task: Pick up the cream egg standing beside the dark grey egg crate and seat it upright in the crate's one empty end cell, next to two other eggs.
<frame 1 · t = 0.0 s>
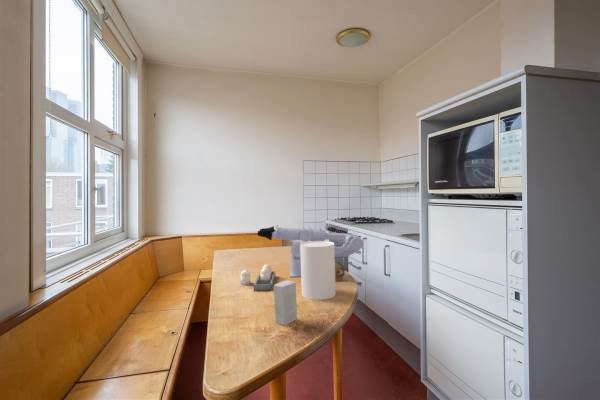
hand: (258, 232, 142), 22 cm above the table, tool horizontal, fingers open, 7 cm apart
canister: (318, 294, 114), on the table
egg crate: (265, 283, 130), on the table
tin: (328, 280, 132), on the table
skincare box: (286, 321, 90), on the table
egg: (245, 283, 130), on the table
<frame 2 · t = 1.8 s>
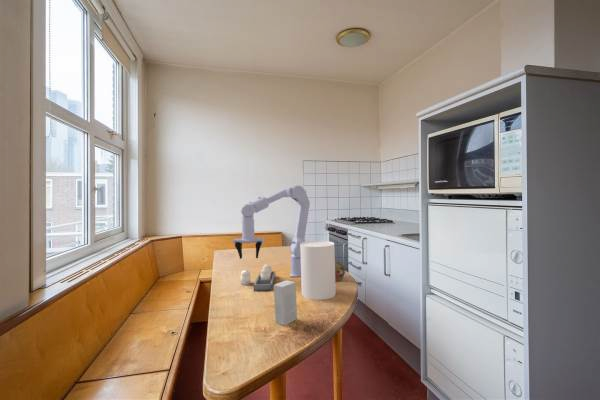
hand: (249, 258, 136), 10 cm above the table, tool pointing down, fingers open, 7 cm apart
nothing on the table moved.
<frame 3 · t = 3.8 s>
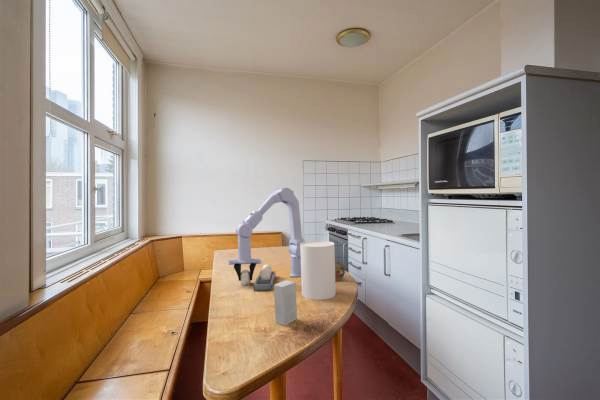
hand: (245, 280, 130), 2 cm above the table, tool pointing down, fingers closed on egg, 4 cm apart
egg: (245, 283, 130), on the table, touching gripper
everything else where it was.
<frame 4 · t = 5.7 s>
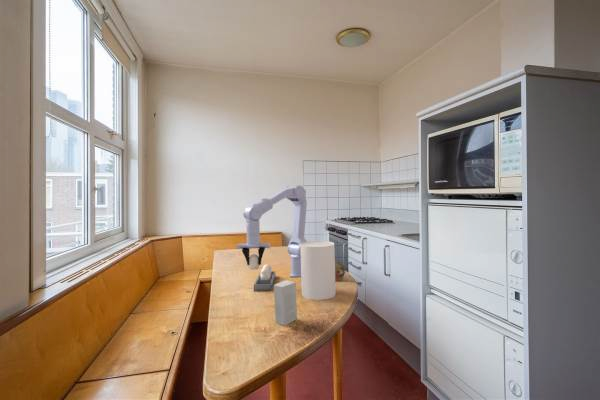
hand: (254, 264, 127), 9 cm above the table, tool pointing down, fingers closed on egg, 4 cm apart
egg: (254, 268, 127), point 8 cm above the table, touching gripper
everything else where it was.
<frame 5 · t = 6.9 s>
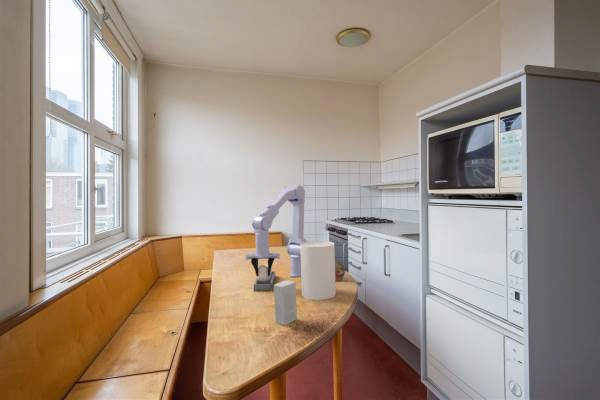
hand: (263, 275, 123), 5 cm above the table, tool pointing down, fingers closed on egg, 4 cm apart
egg: (263, 279, 123), point 4 cm above the table, touching gripper
everything else where it was.
when the fingers open (4 cm above the table, at t = 7.7 s): egg drops 1 cm, resting on egg crate.
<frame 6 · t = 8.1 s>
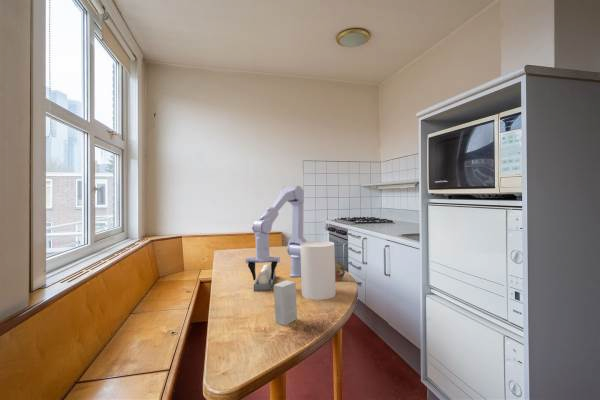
hand: (263, 279, 123), 4 cm above the table, tool pointing down, fingers open, 7 cm apart
egg: (263, 286, 123), point 1 cm above the table, touching egg crate
everything else where it was.
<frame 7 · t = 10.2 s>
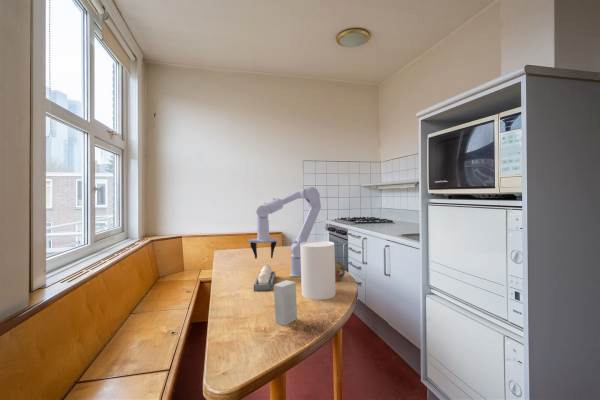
hand: (263, 257, 139), 9 cm above the table, tool pointing down, fingers open, 7 cm apart
nothing on the table moved.
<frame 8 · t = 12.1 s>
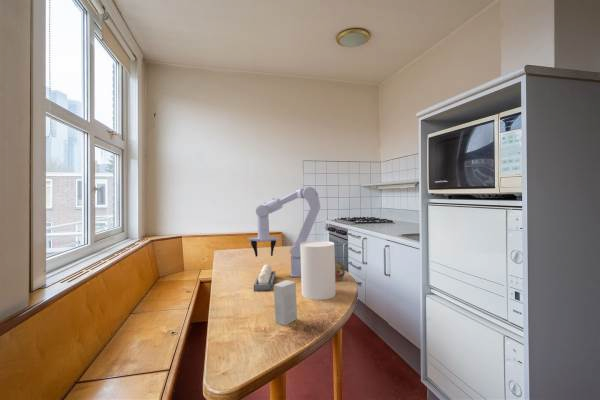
hand: (264, 256, 144), 9 cm above the table, tool pointing down, fingers open, 7 cm apart
nothing on the table moved.
at the end: egg 0.0 cm from the target spot on the egg crate, point 0.6 cm above the egg crate's base; egg tilted 0°; the gripper is holding nothing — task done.
